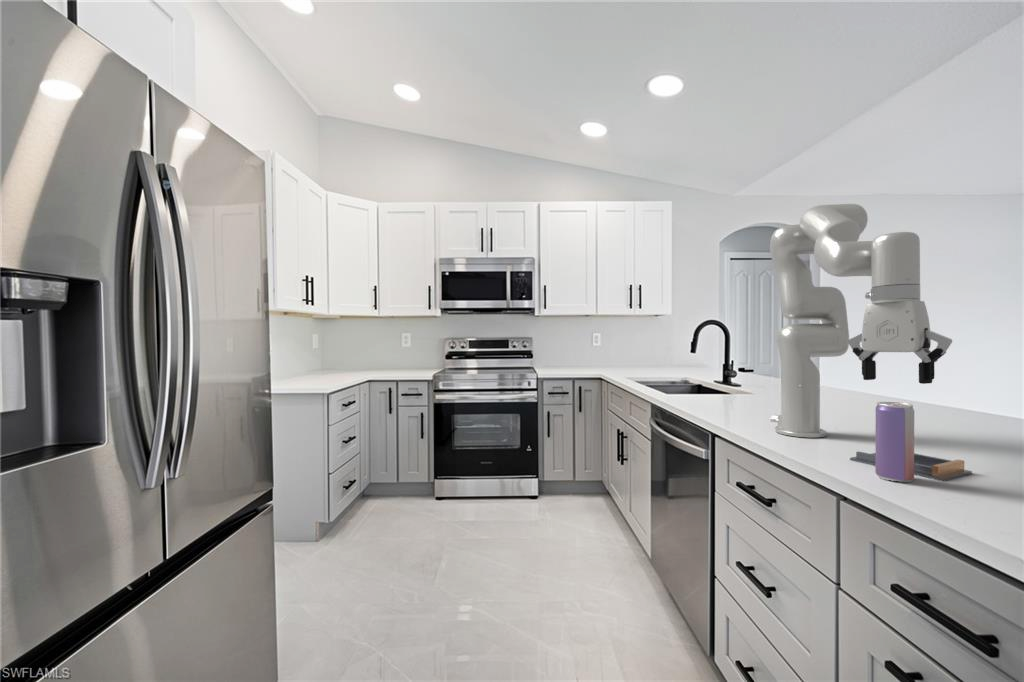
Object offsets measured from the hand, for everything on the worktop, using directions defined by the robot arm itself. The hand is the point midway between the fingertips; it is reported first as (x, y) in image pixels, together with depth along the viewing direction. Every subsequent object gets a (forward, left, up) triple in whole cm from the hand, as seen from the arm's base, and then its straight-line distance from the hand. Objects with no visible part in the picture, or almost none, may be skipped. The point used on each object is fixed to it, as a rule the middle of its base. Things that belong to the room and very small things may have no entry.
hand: (896, 381), depth 93 cm
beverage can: (0, -1, -20) cm, 20 cm away
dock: (-4, +11, -19) cm, 23 cm away
